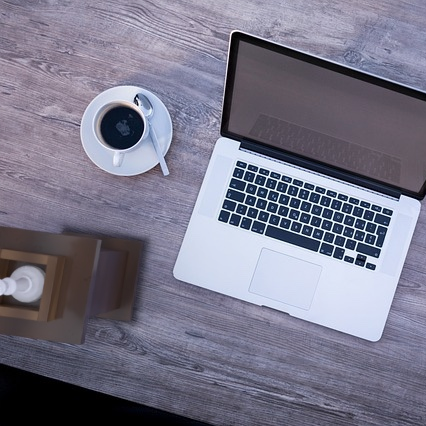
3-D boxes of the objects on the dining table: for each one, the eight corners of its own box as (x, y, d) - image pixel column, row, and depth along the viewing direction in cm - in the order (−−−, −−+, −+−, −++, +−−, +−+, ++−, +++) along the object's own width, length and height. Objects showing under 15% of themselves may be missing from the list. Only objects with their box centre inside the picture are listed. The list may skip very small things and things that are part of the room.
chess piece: (55, 278, 76) (18, 282, 66) (33, 309, 76) (-8, 318, 66) (24, 257, 77) (-18, 258, 67) (2, 289, 76) (-43, 294, 66)
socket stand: (-35, 327, 77) (-54, 331, 73) (-17, 223, 78) (-34, 221, 74) (84, 343, 77) (72, 348, 73) (101, 239, 78) (90, 239, 74)
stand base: (52, 309, 102) (-28, 328, 77) (66, 231, 103) (-9, 224, 78) (131, 320, 102) (77, 342, 77) (144, 241, 103) (94, 238, 78)
